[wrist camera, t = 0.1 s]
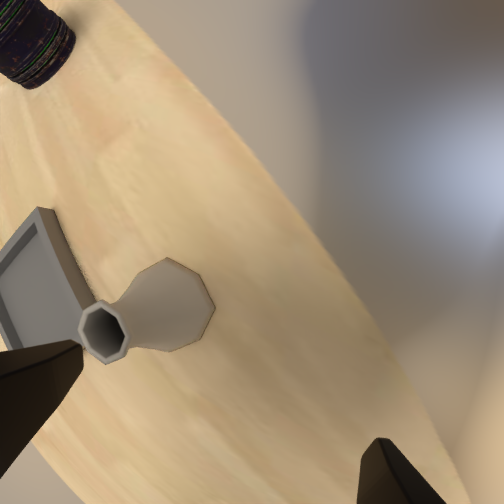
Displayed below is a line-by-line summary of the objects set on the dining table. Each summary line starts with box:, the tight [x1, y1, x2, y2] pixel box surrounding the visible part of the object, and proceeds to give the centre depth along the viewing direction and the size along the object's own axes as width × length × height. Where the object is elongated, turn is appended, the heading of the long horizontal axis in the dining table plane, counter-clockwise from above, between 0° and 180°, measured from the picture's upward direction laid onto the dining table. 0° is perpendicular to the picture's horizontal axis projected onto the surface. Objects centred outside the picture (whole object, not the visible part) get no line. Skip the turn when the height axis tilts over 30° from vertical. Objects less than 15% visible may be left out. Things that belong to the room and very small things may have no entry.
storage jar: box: [0, 0, 76, 89], centre depth 18 cm, size 10×10×15 cm
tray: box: [0, 207, 97, 351], centre depth 23 cm, size 13×13×2 cm
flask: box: [77, 258, 215, 365], centre depth 18 cm, size 7×7×10 cm
